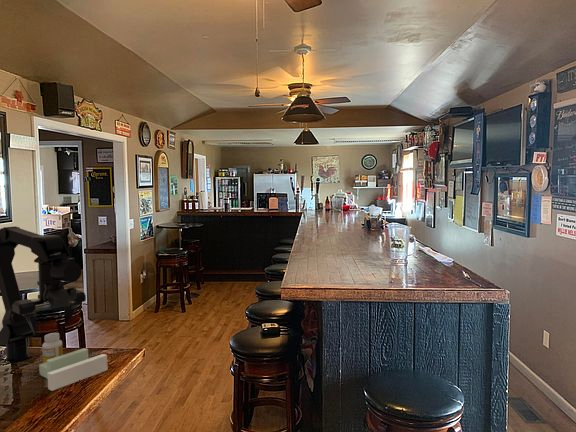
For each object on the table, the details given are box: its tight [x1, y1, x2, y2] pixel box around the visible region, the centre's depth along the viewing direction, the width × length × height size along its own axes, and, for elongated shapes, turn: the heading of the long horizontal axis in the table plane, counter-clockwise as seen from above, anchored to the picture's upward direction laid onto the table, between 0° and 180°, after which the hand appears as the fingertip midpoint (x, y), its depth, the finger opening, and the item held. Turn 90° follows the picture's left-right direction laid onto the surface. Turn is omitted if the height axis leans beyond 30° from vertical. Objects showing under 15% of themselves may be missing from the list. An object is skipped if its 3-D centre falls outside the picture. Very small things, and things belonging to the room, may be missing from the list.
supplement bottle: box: [41, 332, 64, 363], centre depth 129 cm, size 5×5×10 cm
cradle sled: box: [38, 347, 90, 380], centre depth 125 cm, size 7×11×6 cm, turn 143°
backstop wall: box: [47, 353, 109, 392], centre depth 120 cm, size 2×16×4 cm, turn 143°
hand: (51, 329), depth 127 cm, fingers open, 9 cm apart
